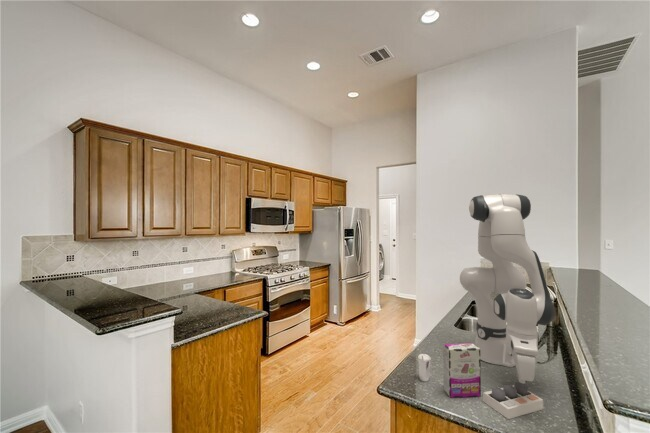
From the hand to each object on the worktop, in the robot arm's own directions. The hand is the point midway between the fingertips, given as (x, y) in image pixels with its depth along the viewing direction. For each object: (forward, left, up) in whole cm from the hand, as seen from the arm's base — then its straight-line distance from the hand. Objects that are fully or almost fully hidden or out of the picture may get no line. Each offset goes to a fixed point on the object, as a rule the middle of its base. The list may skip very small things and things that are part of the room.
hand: (521, 380), depth 98 cm
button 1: (+10, 0, -5) cm, 11 cm away
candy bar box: (+16, -10, -7) cm, 20 cm away
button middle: (+5, 0, -5) cm, 7 cm away
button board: (+5, +1, -7) cm, 8 cm away
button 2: (0, 0, -5) cm, 5 cm away
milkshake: (+23, -21, -7) cm, 32 cm away
